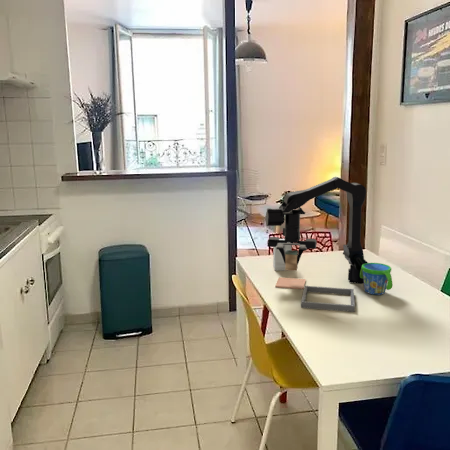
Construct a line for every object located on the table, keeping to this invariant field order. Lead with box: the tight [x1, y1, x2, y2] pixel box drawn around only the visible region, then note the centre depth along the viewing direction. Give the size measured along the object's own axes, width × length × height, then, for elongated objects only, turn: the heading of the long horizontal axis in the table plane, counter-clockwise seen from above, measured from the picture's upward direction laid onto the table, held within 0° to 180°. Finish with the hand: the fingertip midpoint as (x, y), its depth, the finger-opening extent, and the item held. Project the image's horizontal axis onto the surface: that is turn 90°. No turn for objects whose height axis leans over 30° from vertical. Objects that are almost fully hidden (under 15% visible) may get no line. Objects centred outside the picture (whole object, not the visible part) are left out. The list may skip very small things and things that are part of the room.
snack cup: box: [360, 262, 393, 296], centre depth 184 cm, size 16×10×10 cm
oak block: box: [284, 249, 299, 272], centre depth 193 cm, size 4×4×7 cm
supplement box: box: [272, 238, 293, 271], centre depth 215 cm, size 7×7×13 cm
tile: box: [275, 276, 307, 290], centre depth 195 cm, size 11×11×1 cm
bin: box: [300, 285, 356, 313], centre depth 176 cm, size 18×18×2 cm
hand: (291, 263), depth 193 cm, fingers closed on oak block, 4 cm apart
